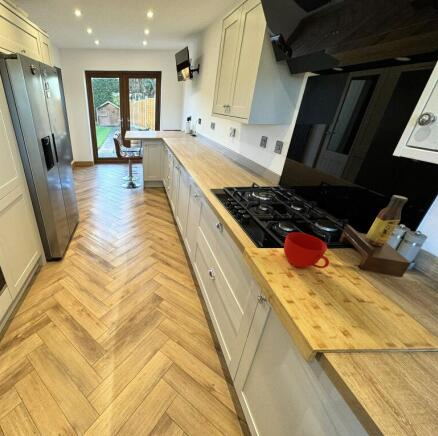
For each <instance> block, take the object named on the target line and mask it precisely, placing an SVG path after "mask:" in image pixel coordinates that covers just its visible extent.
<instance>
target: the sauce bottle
mask: <svg viewBox="0 0 438 436" xmlns="http://www.w3.org/2000/svg"><path fill="white" fill-rule="evenodd" d="M407 201H409V199H408V198H407V197H405V196H401V195H396V194H394V195H392V197H391V198H390V201H389V203H388V204H387V206H386V207H384V208H383V209H381V210H380V211H379V213H378V215H377V216H376V218H375V220H374V221H373V223H372V225H371V227H370V228H369V230H368V231H367V233H366V234H367V236H366V238H365V240H366V241H367V242H368V243H370V244H372V245H375V246H384V245H385V243H388V241H389V239H390V237H391V236H392V234H393V233H394V231H395V229H396V228H397V226H398V225H399V223H400V221H401V217H402V209H403V207H404V205H406V203H407Z"/></svg>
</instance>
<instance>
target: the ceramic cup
mask: <svg viewBox="0 0 438 436" xmlns="http://www.w3.org/2000/svg"><path fill="white" fill-rule="evenodd" d="M327 250H328V246H327V244H326V243H325V242H324V241H323V240H322V239H320V238H319V237H316V236H314V235H311V234H308V233H303V232H289V233H287V235H286V237H285V240H284V244H283V253H284V256H285V258H286V260H287V262H288V263H289V264H290V265H291V266H293V267H296V268H298V269H306V268H310V267H311V266H312V267H314V268H317V269H326V268H327V267H328V266H329V265H330V260H329V258H328V257H327V256H325V254H326V251H327ZM321 259H322V260H324V262H325V263H324V265H318V264H317V263H318V262H319V261H320V260H321Z"/></svg>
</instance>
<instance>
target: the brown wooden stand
mask: <svg viewBox="0 0 438 436" xmlns="http://www.w3.org/2000/svg"><path fill="white" fill-rule="evenodd" d="M367 234H368V233H361V232H358V231H357V230H356V229H355V228H353V227H352V226H351V225H350V224H345V227H344V229H343V231H342V234H341V235H340V237H339V240H338V242H339V243H340V244H345V245H352V246H353V247H354V248H355V249H356V250H357V251H358V252H359V253H360V254H361V255H362V256H363V257H362V258H361V260H360V262H359V264H358V266H357V268H358V269H359V270H360V271H364V272H369V273H376V274H380V275H385V276H390V277H391V276H392V277H398V278H403V276H404V275H405V273H406V272H407V270H408V269H409V267H410V266H411V265H412V262H411V261H409V260H408V259H407V258H406V257H405V256H404V255H402V254H401V253H400V252H399V251H397V250H396V249H395V248H394V247H392V246H391V245H390V244H389V243H388V242H387V243H385V245H384V246H375V245H372V244H370V243H368V242H367V241H366V240H365V238H366V236H367Z"/></svg>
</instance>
